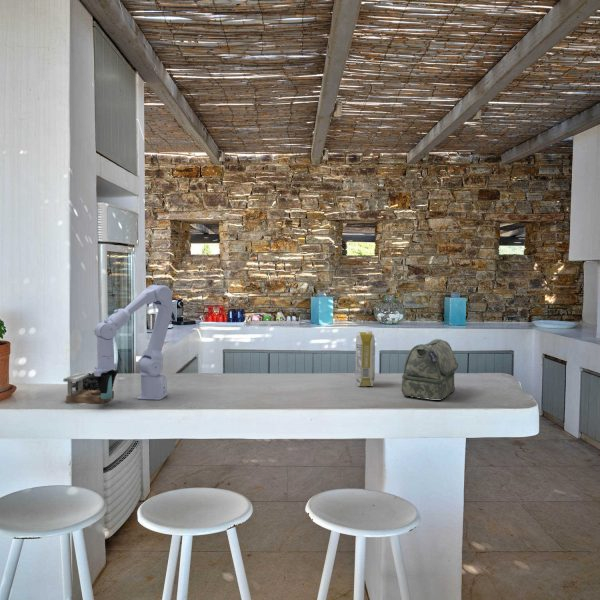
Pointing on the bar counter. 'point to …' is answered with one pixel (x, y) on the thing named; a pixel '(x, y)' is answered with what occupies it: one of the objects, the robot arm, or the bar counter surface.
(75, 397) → the socket station
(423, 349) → the lunch bag
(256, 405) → the bar counter surface
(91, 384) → the fruit
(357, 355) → the juice carton
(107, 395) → the peg
